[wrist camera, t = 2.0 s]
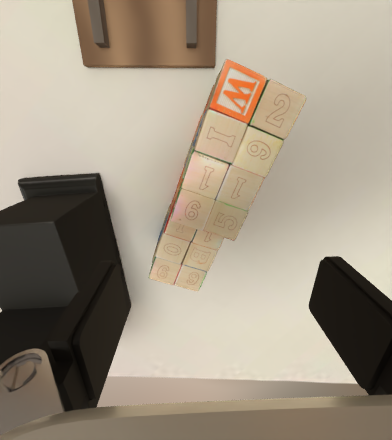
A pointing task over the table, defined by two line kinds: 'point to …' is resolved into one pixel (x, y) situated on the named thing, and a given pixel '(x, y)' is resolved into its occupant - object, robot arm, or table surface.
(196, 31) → the slot board
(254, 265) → the table surface
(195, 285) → the stack of blocks
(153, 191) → the table surface
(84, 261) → the bookend
